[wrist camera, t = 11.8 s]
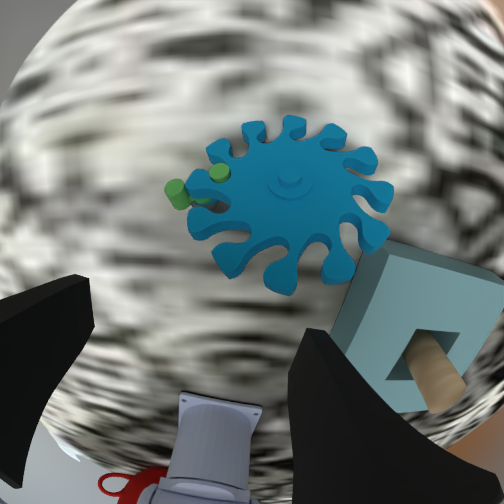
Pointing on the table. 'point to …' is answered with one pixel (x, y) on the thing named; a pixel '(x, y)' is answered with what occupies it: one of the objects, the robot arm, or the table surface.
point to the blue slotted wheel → (285, 200)
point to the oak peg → (432, 371)
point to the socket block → (413, 315)
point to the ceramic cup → (134, 484)
